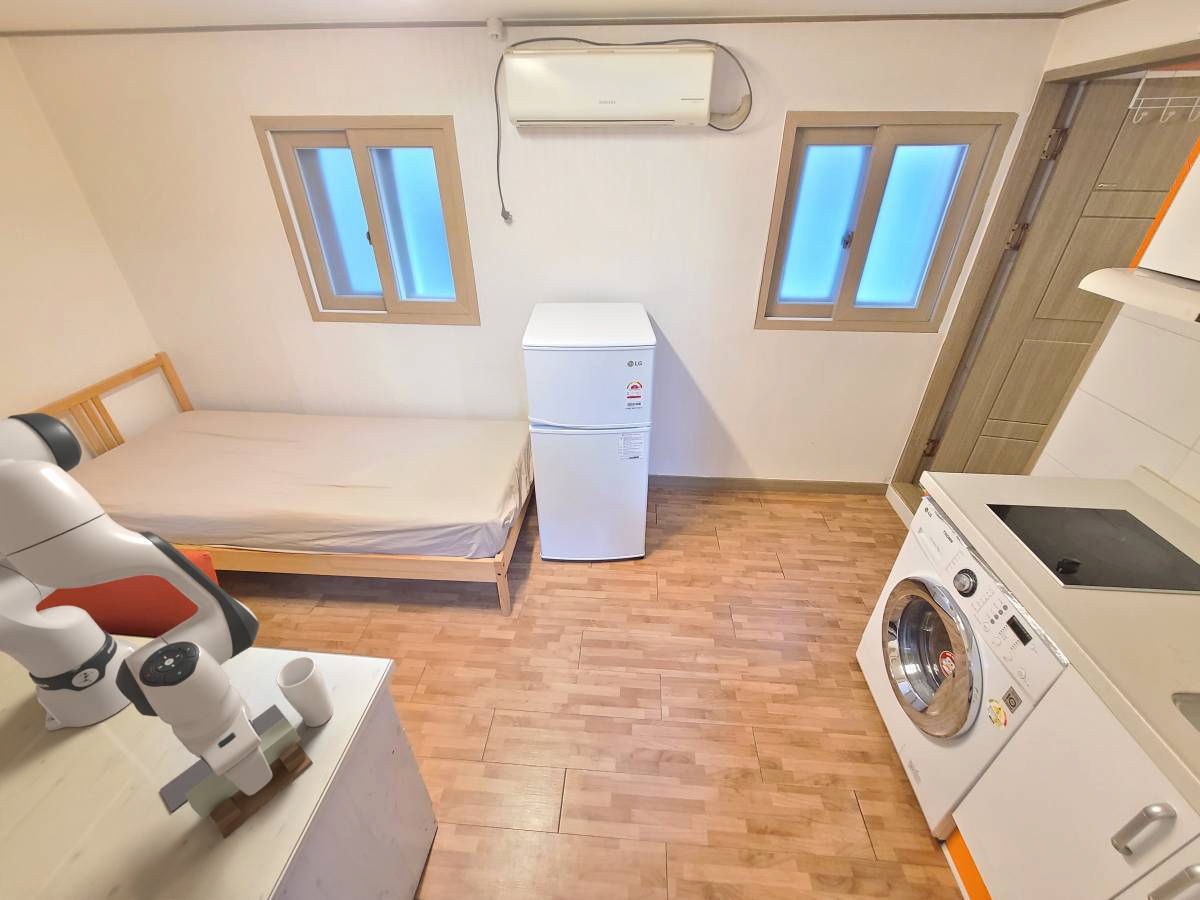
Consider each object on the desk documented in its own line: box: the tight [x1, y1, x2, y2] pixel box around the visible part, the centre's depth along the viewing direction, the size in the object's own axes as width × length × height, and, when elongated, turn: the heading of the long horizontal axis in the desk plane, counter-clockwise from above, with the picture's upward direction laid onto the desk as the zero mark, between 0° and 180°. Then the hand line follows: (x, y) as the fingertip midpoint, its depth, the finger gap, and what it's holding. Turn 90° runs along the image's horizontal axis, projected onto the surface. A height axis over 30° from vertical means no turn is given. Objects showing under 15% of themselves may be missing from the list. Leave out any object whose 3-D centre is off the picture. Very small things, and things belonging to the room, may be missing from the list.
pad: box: [159, 703, 287, 813], centre depth 94 cm, size 6×20×1 cm, turn 144°
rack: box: [209, 742, 313, 839], centre depth 88 cm, size 8×15×6 cm, turn 144°
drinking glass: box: [276, 656, 334, 728], centre depth 96 cm, size 7×7×15 cm
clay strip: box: [185, 716, 301, 820], centre depth 86 cm, size 16×4×4 cm, turn 144°
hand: (248, 765), depth 86 cm, fingers closed on clay strip, 3 cm apart
